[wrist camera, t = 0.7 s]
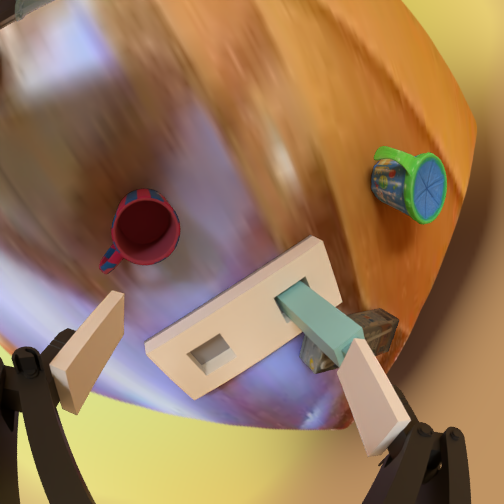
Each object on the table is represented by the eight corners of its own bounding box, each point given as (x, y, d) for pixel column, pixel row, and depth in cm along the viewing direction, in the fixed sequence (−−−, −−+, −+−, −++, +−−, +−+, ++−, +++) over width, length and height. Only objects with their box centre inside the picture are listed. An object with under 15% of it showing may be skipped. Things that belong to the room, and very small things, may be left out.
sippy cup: (343, 169, 40) (394, 178, 31) (375, 124, 40) (426, 125, 31) (387, 230, 48) (431, 247, 39) (413, 187, 48) (456, 198, 39)
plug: (271, 291, 41) (340, 356, 27) (293, 275, 42) (369, 332, 28) (281, 310, 43) (347, 375, 29) (302, 295, 44) (373, 353, 30)
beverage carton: (305, 319, 47) (328, 340, 41) (380, 305, 54) (403, 319, 49) (296, 356, 49) (316, 378, 43) (370, 337, 57) (390, 353, 51)
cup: (182, 222, 34) (193, 237, 28) (117, 271, 32) (115, 297, 26) (150, 176, 30) (154, 181, 24) (84, 229, 29) (72, 247, 23)
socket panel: (144, 341, 36) (145, 354, 34) (310, 234, 41) (322, 240, 39) (189, 387, 42) (194, 400, 39) (331, 293, 47) (342, 301, 44)
